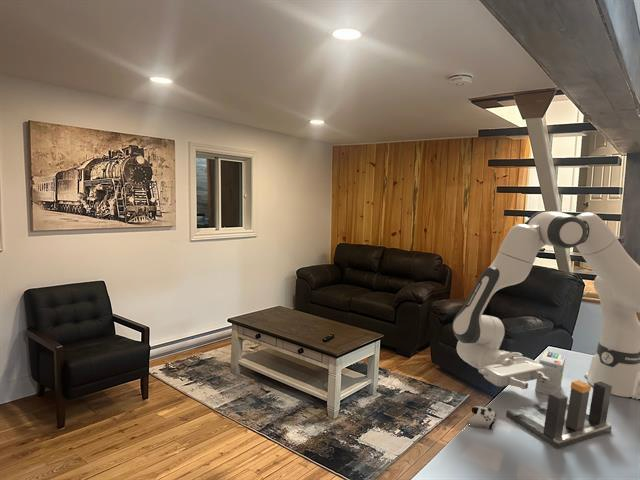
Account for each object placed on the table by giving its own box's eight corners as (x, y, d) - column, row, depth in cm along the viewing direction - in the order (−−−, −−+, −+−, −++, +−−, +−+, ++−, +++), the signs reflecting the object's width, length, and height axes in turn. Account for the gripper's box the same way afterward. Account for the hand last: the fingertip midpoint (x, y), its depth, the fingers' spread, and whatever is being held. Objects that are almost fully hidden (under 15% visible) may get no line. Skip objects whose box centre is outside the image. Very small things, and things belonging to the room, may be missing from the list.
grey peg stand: (556, 403, 132) (562, 364, 130) (611, 432, 118) (618, 388, 116) (505, 416, 122) (511, 374, 121) (557, 449, 108) (565, 402, 106)
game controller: (470, 407, 125) (487, 397, 122) (482, 423, 123) (500, 414, 121) (464, 422, 116) (483, 412, 114) (478, 440, 115) (497, 430, 112)
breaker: (572, 422, 118) (579, 380, 116) (584, 429, 115) (591, 385, 113) (564, 425, 116) (571, 381, 115) (576, 431, 113) (583, 387, 112)
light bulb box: (539, 379, 148) (543, 349, 147) (561, 386, 145) (566, 355, 143) (534, 390, 140) (539, 359, 138) (558, 397, 136) (562, 365, 134)
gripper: (476, 359, 133) (513, 379, 121) (522, 351, 142) (561, 368, 130) (473, 378, 134) (510, 400, 122) (519, 369, 143) (558, 388, 131)
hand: (537, 384), depth 126 cm, fingers open, 8 cm apart
